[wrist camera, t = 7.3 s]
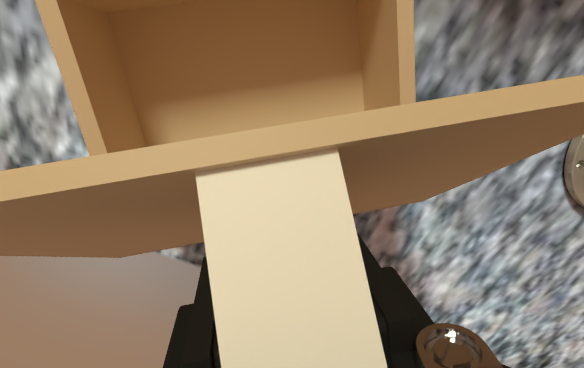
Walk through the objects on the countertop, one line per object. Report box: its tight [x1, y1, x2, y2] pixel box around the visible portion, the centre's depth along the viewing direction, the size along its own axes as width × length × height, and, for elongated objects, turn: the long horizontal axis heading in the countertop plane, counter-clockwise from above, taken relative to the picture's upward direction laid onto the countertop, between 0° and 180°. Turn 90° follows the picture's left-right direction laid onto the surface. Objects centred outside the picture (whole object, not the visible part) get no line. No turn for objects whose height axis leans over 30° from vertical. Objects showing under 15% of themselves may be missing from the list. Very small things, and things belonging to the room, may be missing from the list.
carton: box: [35, 0, 416, 156], centre depth 24 cm, size 20×16×8 cm
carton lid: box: [0, 75, 584, 368], centre depth 14 cm, size 20×16×5 cm
